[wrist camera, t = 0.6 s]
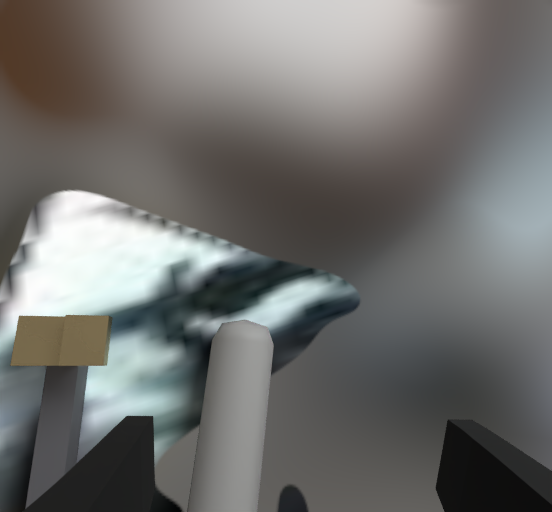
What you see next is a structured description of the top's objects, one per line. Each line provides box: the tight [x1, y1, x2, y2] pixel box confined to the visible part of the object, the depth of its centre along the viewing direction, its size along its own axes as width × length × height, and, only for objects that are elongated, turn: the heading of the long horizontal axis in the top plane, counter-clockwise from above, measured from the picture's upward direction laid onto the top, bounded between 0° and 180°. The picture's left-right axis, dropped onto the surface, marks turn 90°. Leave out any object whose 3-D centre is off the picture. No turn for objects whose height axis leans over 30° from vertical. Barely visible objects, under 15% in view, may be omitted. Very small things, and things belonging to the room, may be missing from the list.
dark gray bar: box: [25, 366, 88, 509], centre depth 25 cm, size 24×2×2 cm, turn 0°
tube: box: [187, 320, 274, 512], centre depth 26 cm, size 5×5×25 cm
